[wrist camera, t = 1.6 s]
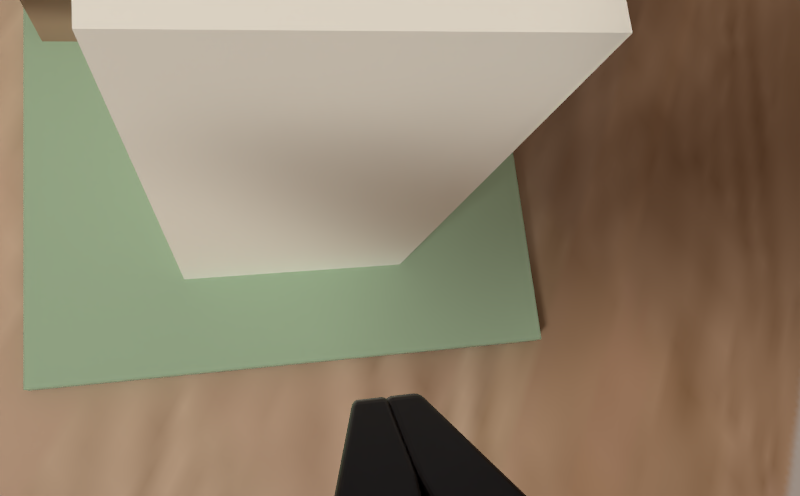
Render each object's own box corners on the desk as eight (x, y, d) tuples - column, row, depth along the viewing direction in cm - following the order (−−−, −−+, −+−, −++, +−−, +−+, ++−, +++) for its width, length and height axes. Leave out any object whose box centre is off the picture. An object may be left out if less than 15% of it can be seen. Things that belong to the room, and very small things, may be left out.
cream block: (399, 264, 21) (632, 32, 8) (184, 279, 19) (72, 29, 7) (371, 15, 22) (529, -492, 10) (171, 12, 21) (61, -579, 8)
